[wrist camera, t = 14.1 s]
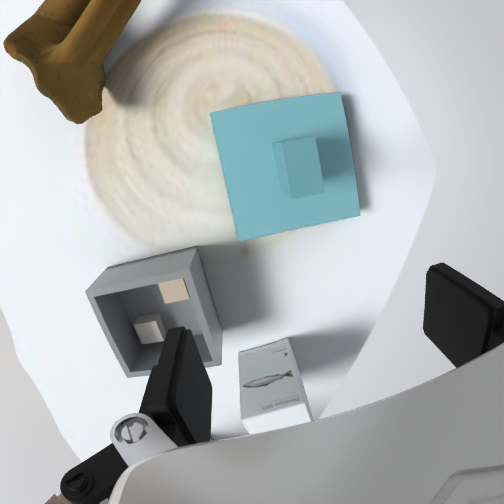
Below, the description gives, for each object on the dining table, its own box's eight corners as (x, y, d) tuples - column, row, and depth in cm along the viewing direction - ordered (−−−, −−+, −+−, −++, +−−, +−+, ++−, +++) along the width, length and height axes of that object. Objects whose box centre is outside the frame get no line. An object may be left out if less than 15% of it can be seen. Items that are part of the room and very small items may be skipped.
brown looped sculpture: (-29, 70, 19) (61, -84, 10) (43, 75, 30) (122, -50, 22) (15, 124, 18) (157, -100, 9) (110, 126, 29) (219, -34, 21)
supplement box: (288, 335, 40) (307, 402, 28) (300, 373, 43) (319, 437, 31) (236, 350, 41) (239, 420, 29) (252, 386, 43) (259, 453, 31)
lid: (352, 211, 35) (384, 229, 28) (238, 235, 36) (240, 261, 28) (333, 95, 31) (362, 82, 23) (211, 115, 31) (204, 104, 23)
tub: (222, 331, 39) (221, 364, 33) (140, 345, 39) (127, 377, 33) (197, 245, 35) (189, 268, 29) (107, 267, 35) (85, 291, 29)
